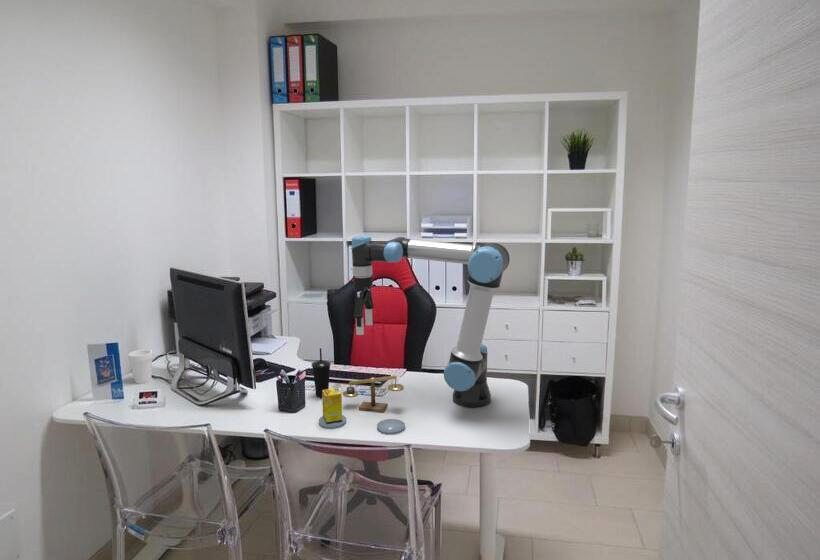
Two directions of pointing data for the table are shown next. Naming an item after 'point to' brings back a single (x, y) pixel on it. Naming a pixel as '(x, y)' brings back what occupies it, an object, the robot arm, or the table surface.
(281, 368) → the table surface
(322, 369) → the drinking cup
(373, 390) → the balance stand
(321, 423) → the dish low side
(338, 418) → the supplement box
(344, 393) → the balance beam
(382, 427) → the blue-grey plate
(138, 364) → the foam cup
